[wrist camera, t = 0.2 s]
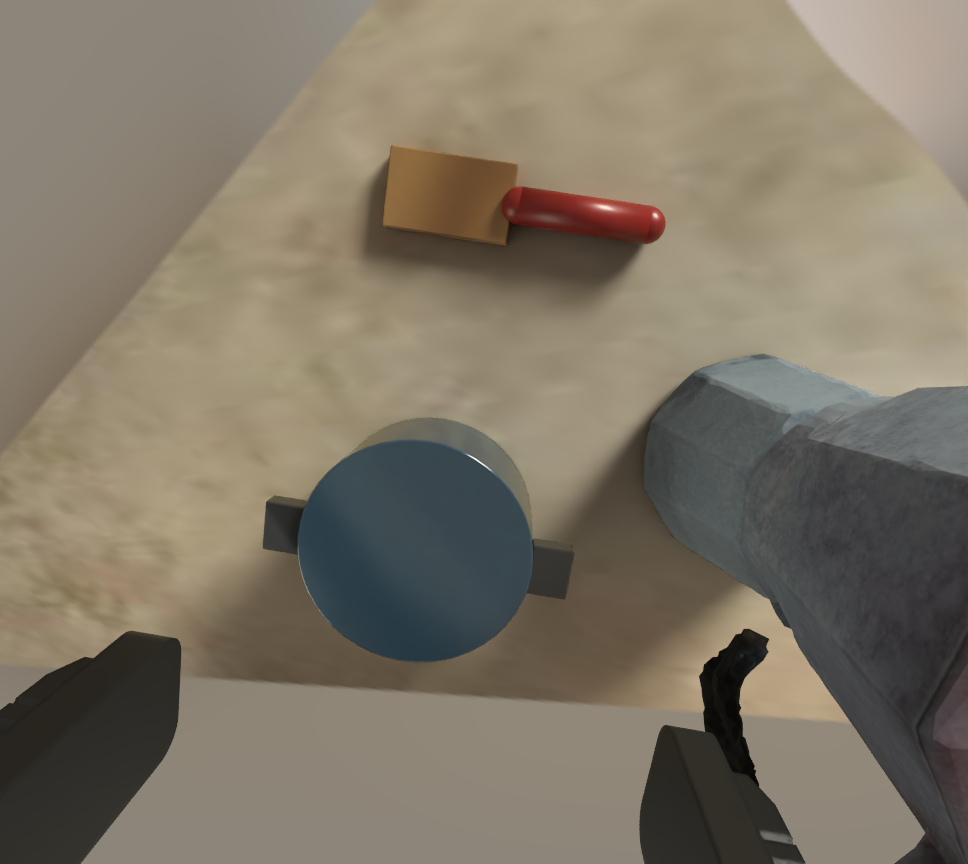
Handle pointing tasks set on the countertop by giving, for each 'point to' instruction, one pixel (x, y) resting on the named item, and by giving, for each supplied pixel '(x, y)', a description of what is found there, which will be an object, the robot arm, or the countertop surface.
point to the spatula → (498, 202)
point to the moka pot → (836, 558)
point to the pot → (419, 542)
